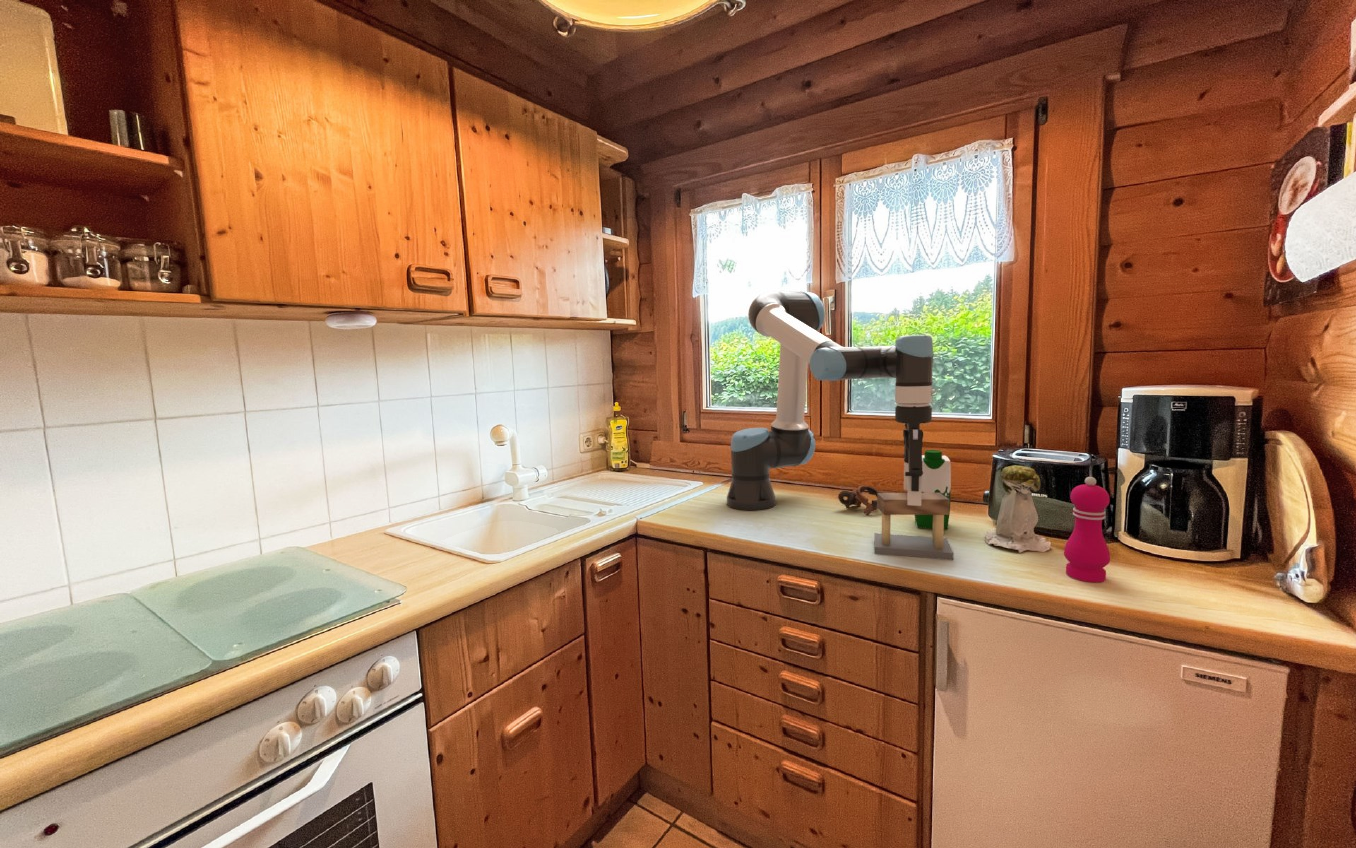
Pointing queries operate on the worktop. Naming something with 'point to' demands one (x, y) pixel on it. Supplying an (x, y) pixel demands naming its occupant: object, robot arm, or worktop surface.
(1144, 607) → the worktop surface
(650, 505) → the worktop surface
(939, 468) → the milk carton
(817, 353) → the robot arm
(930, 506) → the brown rectangular block
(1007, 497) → the mushroom sculpture
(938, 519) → the peg stand
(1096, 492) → the pepper mill
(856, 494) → the twisted brown knot
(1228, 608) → the worktop surface
